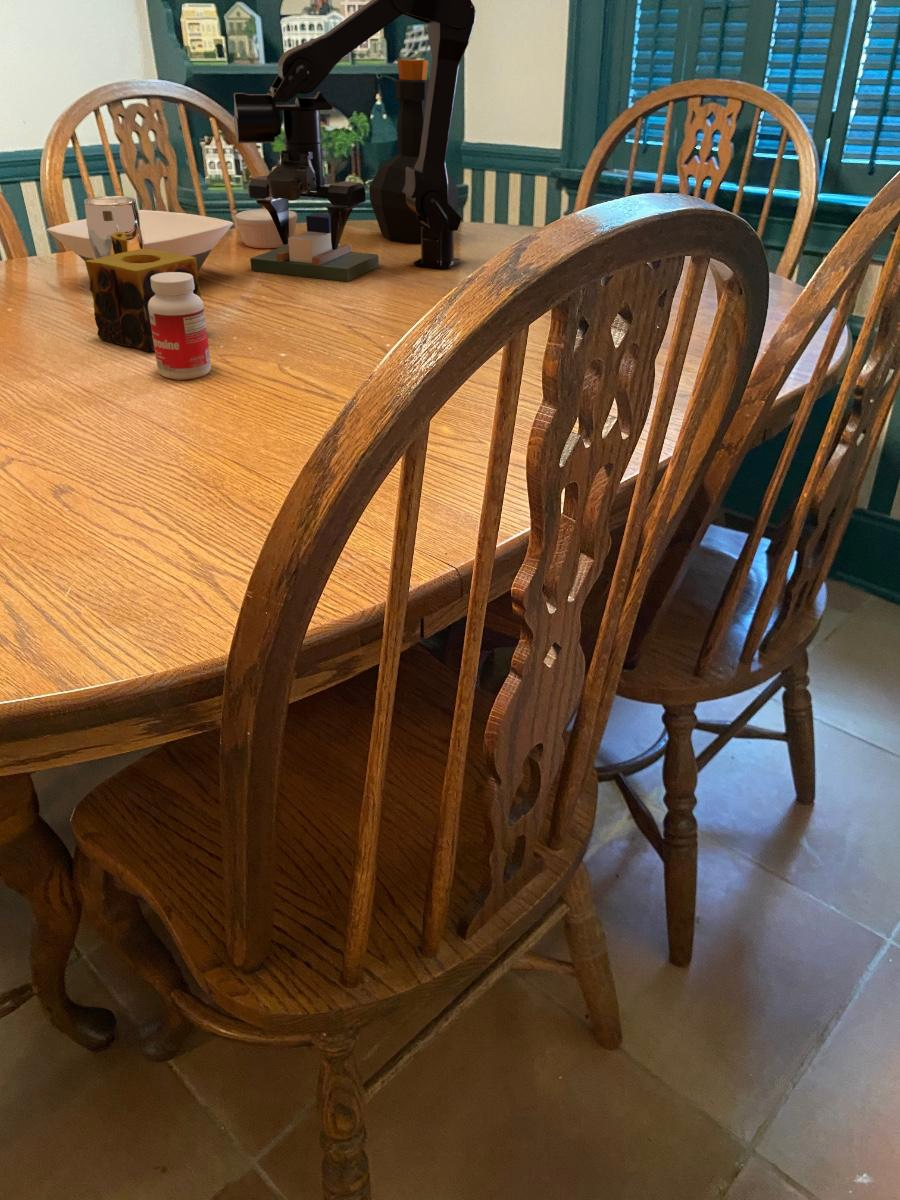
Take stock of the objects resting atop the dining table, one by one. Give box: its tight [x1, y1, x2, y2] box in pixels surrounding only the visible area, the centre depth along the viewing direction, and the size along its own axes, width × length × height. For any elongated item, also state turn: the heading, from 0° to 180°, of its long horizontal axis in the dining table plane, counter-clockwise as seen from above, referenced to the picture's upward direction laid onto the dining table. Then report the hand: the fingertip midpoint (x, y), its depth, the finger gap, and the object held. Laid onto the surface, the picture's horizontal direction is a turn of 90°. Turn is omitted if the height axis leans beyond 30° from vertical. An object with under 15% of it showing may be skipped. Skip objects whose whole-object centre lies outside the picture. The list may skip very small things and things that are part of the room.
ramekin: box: [234, 208, 298, 249], centre depth 169 cm, size 11×11×5 cm
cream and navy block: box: [288, 212, 341, 263], centre depth 151 cm, size 10×4×6 cm, turn 159°
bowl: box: [46, 209, 234, 274], centre depth 142 cm, size 22×23×8 cm
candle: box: [84, 249, 202, 353], centre depth 117 cm, size 10×10×10 cm
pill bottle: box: [148, 272, 212, 381], centre depth 105 cm, size 6×6×11 cm
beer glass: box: [83, 195, 144, 259], centre depth 125 cm, size 7×7×15 cm
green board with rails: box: [249, 243, 379, 283], centre depth 153 cm, size 12×18×3 cm, turn 69°
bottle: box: [368, 58, 459, 243], centre depth 170 cm, size 16×16×30 cm
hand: (309, 246), depth 151 cm, fingers open, 9 cm apart
